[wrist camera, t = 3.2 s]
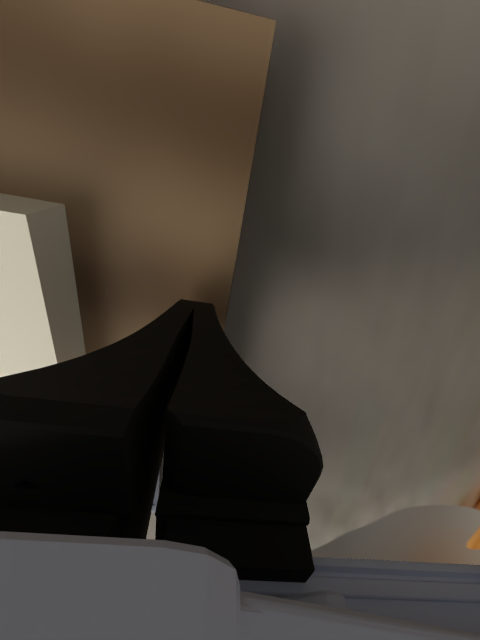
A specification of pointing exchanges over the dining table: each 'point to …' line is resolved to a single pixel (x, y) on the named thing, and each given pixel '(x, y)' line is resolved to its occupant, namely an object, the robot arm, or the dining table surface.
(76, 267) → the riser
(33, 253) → the tile
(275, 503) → the robot arm
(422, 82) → the dining table surface
